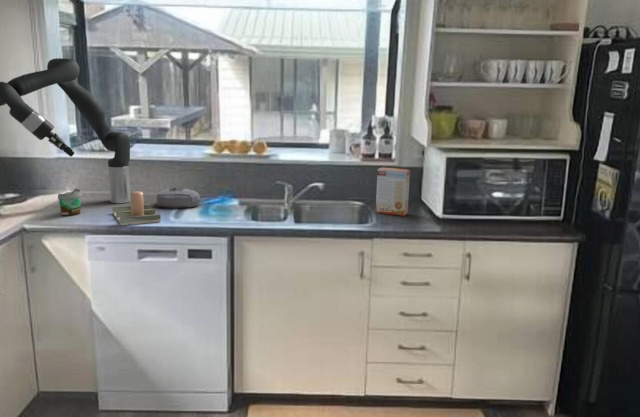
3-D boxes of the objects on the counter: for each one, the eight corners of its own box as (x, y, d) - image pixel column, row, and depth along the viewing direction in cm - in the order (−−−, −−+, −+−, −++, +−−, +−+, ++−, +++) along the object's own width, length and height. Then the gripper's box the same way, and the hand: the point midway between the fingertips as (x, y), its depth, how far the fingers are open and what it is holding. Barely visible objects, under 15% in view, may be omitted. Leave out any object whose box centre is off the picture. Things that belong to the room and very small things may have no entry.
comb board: (112, 213, 250) (112, 207, 249) (149, 210, 257) (149, 204, 256) (120, 225, 232) (120, 218, 231) (160, 221, 239) (160, 214, 238)
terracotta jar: (130, 217, 241) (129, 191, 238) (143, 216, 243) (141, 190, 241) (132, 220, 236) (131, 194, 234) (145, 218, 239) (144, 193, 236)
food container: (72, 218, 241) (70, 194, 239) (59, 216, 242) (57, 194, 240) (89, 211, 253) (87, 189, 250) (76, 210, 254) (75, 188, 252)
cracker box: (407, 213, 264) (410, 169, 259) (404, 216, 259) (407, 171, 254) (379, 210, 270) (381, 166, 265) (375, 212, 265) (377, 168, 260)
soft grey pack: (154, 208, 262) (198, 209, 262) (153, 191, 260) (197, 191, 260) (162, 201, 276) (203, 202, 277) (161, 184, 274) (203, 185, 275)
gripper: (45, 119, 213) (80, 148, 221) (43, 116, 226) (76, 144, 234) (31, 134, 212) (66, 163, 220) (29, 130, 224) (63, 157, 232)
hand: (71, 153), depth 227 cm, fingers open, 8 cm apart
